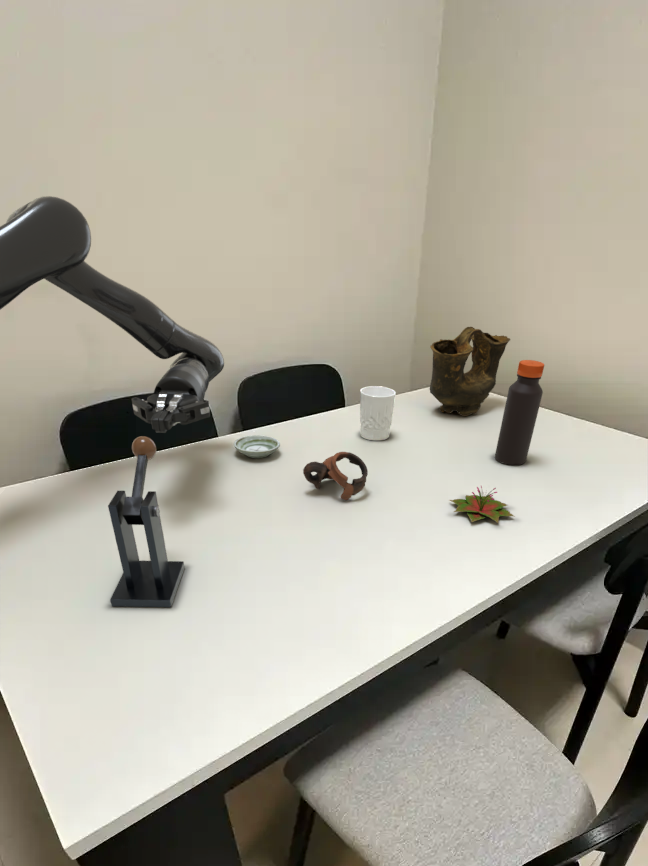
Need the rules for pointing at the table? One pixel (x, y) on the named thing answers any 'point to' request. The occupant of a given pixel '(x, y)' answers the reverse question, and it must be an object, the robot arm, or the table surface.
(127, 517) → the lever
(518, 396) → the bottle
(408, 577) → the table surface
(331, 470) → the brown curved ring piece
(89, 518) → the table surface
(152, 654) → the table surface
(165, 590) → the bracket
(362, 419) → the white cup
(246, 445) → the saucer
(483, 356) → the pottery vessel
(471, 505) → the lily flower
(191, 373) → the robot arm
